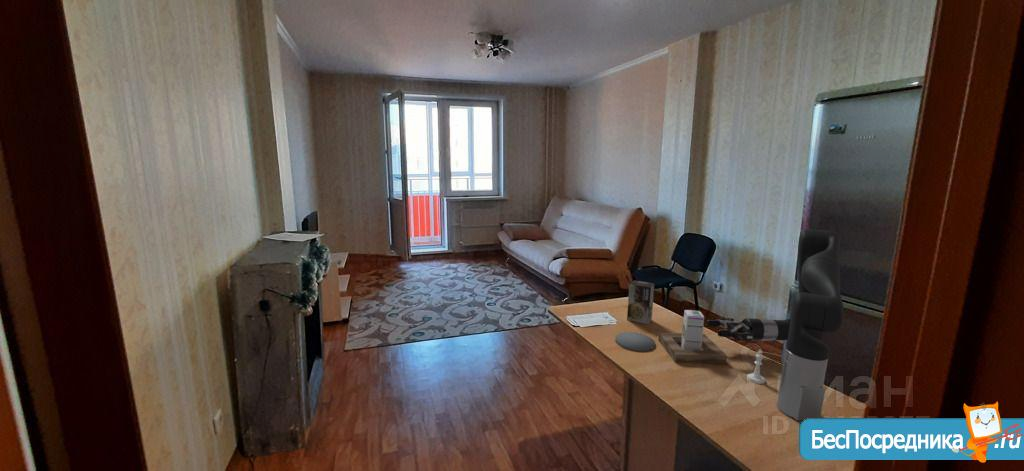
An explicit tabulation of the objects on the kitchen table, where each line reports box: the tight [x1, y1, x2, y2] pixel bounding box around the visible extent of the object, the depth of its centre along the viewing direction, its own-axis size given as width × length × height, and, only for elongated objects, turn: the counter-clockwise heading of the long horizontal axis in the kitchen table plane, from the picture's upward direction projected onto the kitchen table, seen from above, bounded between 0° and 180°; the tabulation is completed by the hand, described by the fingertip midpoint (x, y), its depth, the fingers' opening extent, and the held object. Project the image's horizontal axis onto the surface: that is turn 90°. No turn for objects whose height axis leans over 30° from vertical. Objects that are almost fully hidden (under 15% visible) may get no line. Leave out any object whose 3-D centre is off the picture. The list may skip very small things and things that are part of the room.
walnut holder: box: [658, 332, 728, 365], centre depth 145 cm, size 17×17×3 cm
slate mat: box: [614, 331, 656, 352], centre depth 152 cm, size 14×14×1 cm
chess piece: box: [746, 349, 766, 385], centre depth 127 cm, size 5×5×10 cm
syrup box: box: [680, 309, 705, 350], centre depth 144 cm, size 6×6×14 cm
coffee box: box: [626, 280, 655, 325], centre depth 172 cm, size 9×6×16 cm
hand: (712, 328), depth 144 cm, fingers open, 8 cm apart
